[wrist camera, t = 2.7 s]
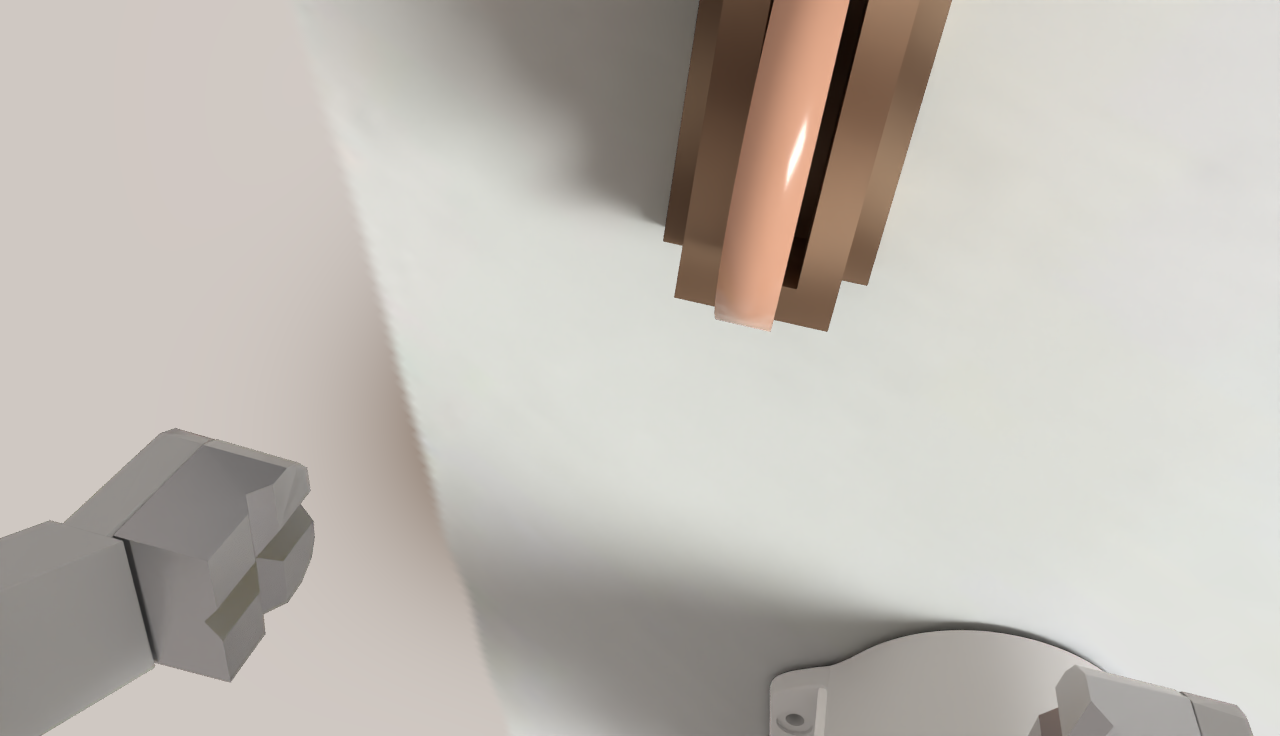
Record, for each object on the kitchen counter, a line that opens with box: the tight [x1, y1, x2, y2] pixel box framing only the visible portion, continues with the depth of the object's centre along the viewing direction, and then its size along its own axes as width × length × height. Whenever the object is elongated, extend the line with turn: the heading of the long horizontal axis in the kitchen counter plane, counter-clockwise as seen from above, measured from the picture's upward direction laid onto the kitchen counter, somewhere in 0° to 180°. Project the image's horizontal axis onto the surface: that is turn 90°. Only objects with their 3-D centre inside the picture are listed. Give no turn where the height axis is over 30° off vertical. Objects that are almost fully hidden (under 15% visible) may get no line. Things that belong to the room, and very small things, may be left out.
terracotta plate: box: [714, 0, 850, 332], centre depth 24 cm, size 11×1×11 cm, turn 173°
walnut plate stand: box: [663, 0, 952, 332], centre depth 27 cm, size 14×7×4 cm, turn 173°
